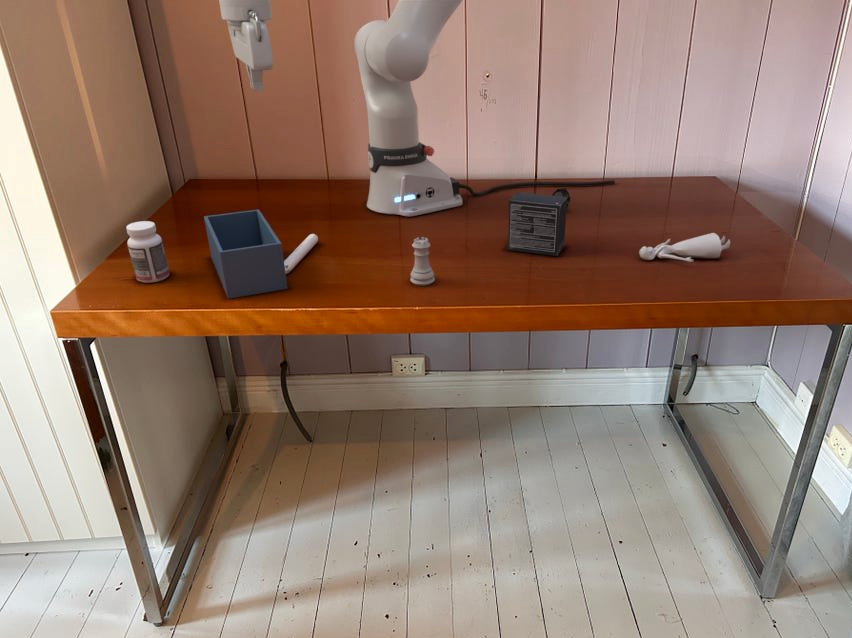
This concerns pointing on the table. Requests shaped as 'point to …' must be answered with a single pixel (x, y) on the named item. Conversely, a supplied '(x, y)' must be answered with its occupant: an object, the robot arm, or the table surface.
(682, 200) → the table surface
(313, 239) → the marker
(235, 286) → the blue box
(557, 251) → the small box
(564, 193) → the smartwatch
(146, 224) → the pill bottle
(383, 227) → the table surface
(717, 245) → the woman figurine
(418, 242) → the rook chess piece
